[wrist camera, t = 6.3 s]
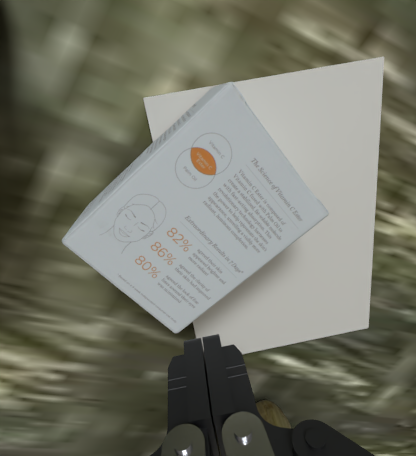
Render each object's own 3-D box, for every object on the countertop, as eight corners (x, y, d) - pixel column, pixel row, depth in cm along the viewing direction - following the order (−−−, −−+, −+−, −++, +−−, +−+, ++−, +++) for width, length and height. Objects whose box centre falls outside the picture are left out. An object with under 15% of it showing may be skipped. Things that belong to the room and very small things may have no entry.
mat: (143, 97, 18) (143, 97, 18) (379, 57, 19) (384, 56, 18) (201, 358, 26) (201, 362, 26) (365, 324, 26) (368, 327, 26)
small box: (174, 283, 22) (293, 186, 21) (175, 338, 17) (334, 215, 15) (85, 203, 20) (215, 82, 18) (55, 241, 14) (233, 76, 13)
